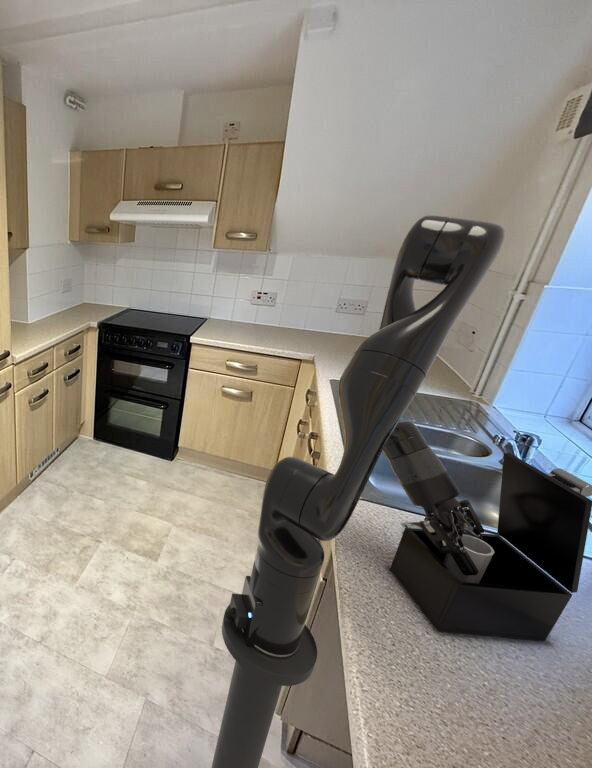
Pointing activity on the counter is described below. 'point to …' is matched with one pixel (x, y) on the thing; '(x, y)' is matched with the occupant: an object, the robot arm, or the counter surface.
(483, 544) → the cup
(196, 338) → the counter surface
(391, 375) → the robot arm
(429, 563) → the black hollow box
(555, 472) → the black box lid
